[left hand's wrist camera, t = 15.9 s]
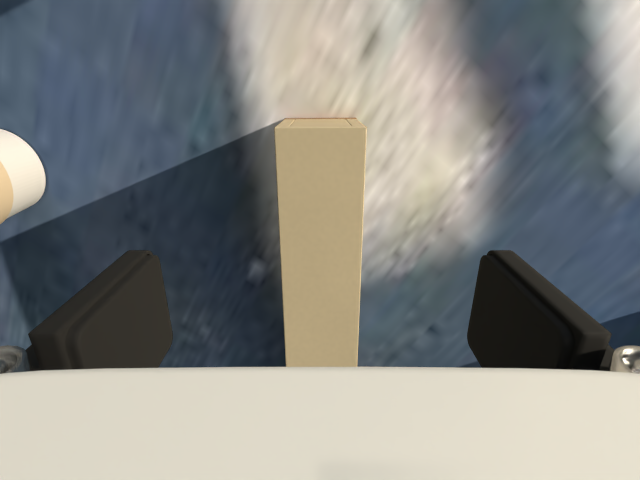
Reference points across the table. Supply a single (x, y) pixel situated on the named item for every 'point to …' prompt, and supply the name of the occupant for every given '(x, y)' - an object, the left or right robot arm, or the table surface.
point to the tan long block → (320, 237)
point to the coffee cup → (18, 175)
